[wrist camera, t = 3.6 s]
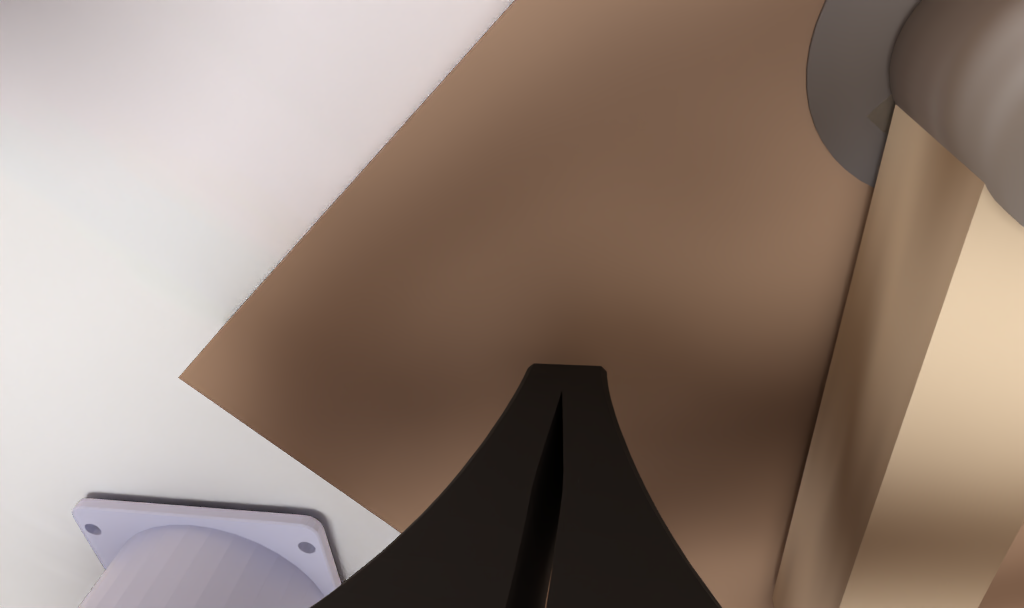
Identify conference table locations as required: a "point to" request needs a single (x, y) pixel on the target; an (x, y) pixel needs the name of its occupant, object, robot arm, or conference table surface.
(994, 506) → the folding leg
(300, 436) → the stool seat
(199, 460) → the conference table surface
